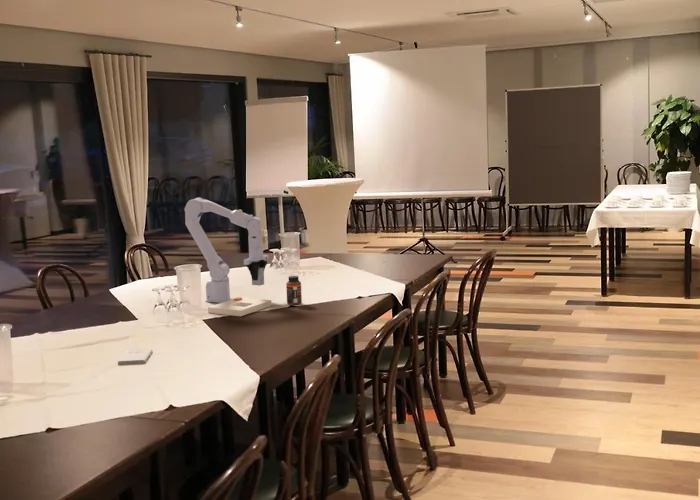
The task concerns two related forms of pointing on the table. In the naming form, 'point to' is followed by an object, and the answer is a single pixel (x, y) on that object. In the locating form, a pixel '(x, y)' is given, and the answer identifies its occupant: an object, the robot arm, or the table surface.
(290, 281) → the supplement bottle
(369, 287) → the table surface
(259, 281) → the plug
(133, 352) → the external hard drive
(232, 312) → the socket plate
